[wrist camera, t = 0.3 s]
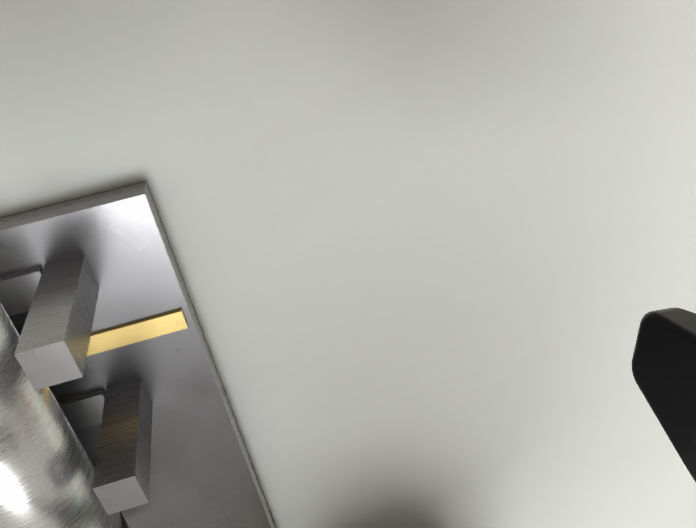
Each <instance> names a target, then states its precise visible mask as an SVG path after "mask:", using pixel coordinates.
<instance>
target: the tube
mask: <svg viewBox="0 0 696 528" xmlns="http://www.w3.org/2000/svg"><path fill="white" fill-rule="evenodd" d="M19 338H20V335H19V334H18V332H17V330H16V328H15V327H14V325H13V323H12V321H11V320H10V318H9V316H8V314H7V312H6V311H5V309H4V307H3V305H2V304H1V302H0V528H130V527H129V526H128V524H127V522H126V520H125V519H124V517H123V515H122V513H121V511H120V512H117V513H113V514H110V515H108V514H107V512H106V511H105V509H104V507H103V506H102V504H101V502H100V501H99V499H98V497H97V495H96V494H95V492H94V490H93V489H92V488H93V481H94V474H95V468H94V466H93V464H92V462H91V461H90V459H89V457H88V455H87V453H86V452H85V450H84V448H83V446H82V445H81V443H80V441H79V439H78V438H77V436H76V434H75V432H74V431H73V429H72V427H71V425H70V424H69V422H68V420H67V418H66V416H65V415H64V413H63V411H62V409H61V408H60V406H59V404H58V402H57V401H56V399H55V397H54V395H53V394H52V392H51V390H50V388H49V387H46V388H42V389H39V390H35V389H34V388H33V386H32V384H31V383H30V381H29V379H28V377H27V376H26V374H25V372H24V371H23V369H22V367H21V365H20V364H19V362H18V360H17V359H16V357H15V355H14V353H15V350H16V347H17V344H18V341H19Z"/></svg>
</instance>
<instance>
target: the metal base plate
mask: <svg viewBox="0 0 696 528" xmlns="http://www.w3.org/2000/svg"><path fill="white" fill-rule="evenodd" d="M0 302H1V304H2V305H3V307H4V309H5V311H6V312H7V314H8V316H9V318H10V320H11V321H12V323H13V325H14V327H15V328H16V330H17V332H18V334H19V335H20V338H19V341H18V344H17V347H16V350H15V353H14V355H15V357H16V359H17V360H18V362H19V364H20V365H21V367H22V369H23V371H24V372H25V374H26V376H27V377H28V379H29V381H30V383H31V384H32V386H33V388H34V389H35V390H39V389H42V388H46V387H49V388H50V390H51V392H52V394H53V395H54V397H55V399H56V401H57V402H58V404H59V406H60V408H61V409H62V411H63V413H64V415H65V416H66V418H67V420H68V422H69V424H70V425H71V427H72V429H73V431H74V432H75V434H76V436H77V438H78V439H79V441H80V443H81V445H82V446H83V448H84V450H85V452H86V453H87V455H88V457H89V459H90V461H91V462H92V464H93V466H94V468H95V474H94V481H93V488H92V489H93V490H94V492H95V494H96V495H97V497H98V499H99V501H100V502H101V504H102V506H103V507H104V509H105V511H106V512H107V514H108V515H110V514H113V513H117V512H120V511H121V513H122V515H123V517H124V519H125V520H126V522H127V524H128V526H129V527H130V528H275V525H274V522H273V520H272V517H271V514H270V512H269V509H268V506H267V504H266V501H265V498H264V496H263V493H262V490H261V488H260V485H259V482H258V480H257V477H256V474H255V472H254V469H253V466H252V464H251V461H250V458H249V456H248V453H247V450H246V448H245V445H244V442H243V439H242V437H241V434H240V431H239V429H238V426H237V423H236V421H235V418H234V415H233V413H232V410H231V407H230V405H229V402H228V399H227V397H226V394H225V391H224V389H223V386H222V383H221V381H220V378H219V375H218V373H217V370H216V367H215V365H214V362H213V359H212V356H211V354H210V351H209V348H208V346H207V343H206V340H205V338H204V335H203V332H202V330H201V327H200V324H199V322H198V319H197V316H196V314H195V311H194V308H193V306H192V303H191V300H190V298H189V295H188V292H187V290H186V287H185V284H184V282H183V279H182V276H181V274H180V271H179V268H178V265H177V263H176V260H175V257H174V255H173V252H172V249H171V247H170V244H169V241H168V239H167V236H166V233H165V231H164V228H163V225H162V223H161V220H160V217H159V215H158V212H157V209H156V207H155V204H154V201H153V199H152V196H151V193H150V191H149V188H148V185H147V183H146V181H145V182H141V183H137V184H133V185H129V186H125V187H121V188H117V189H113V190H109V191H105V192H101V193H97V194H93V195H89V196H85V197H81V198H77V199H73V200H70V201H66V202H62V203H58V204H54V205H50V206H46V207H42V208H38V209H34V210H30V211H26V212H22V213H18V214H14V215H10V216H6V217H2V218H0Z"/></svg>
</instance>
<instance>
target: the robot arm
mask: <svg viewBox="0 0 696 528" xmlns="http://www.w3.org/2000/svg"><path fill="white" fill-rule="evenodd" d="M632 372H633V376H634V378H635V381H636V383H637V385H638V386H639V388H640V390H641V391H642V393H643V395H644V396H645V398H646V400H647V402H648V403H649V405H650V407H651V408H652V410H653V412H654V413H655V415H656V417H657V419H658V420H659V422H660V424H661V425H662V427H663V429H664V430H665V432H666V434H667V435H668V437H669V439H670V441H671V442H672V444H673V446H674V447H675V449H676V451H677V452H678V454H679V456H680V458H681V459H682V461H683V463H684V464H685V466H686V467H687V469H688V471H689V472H690V474H691V475H692V477H693V479H694V480H695V482H696V314H695V313H692V312H689V311H687V310H684V309H680V308H668V309H662V310H656V311H651V312H649V313H647V314H645V315H644V317H643V318H642V320H641V323H640V327H639V331H638V336H637V341H636V345H635V350H634V354H633V359H632Z"/></svg>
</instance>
